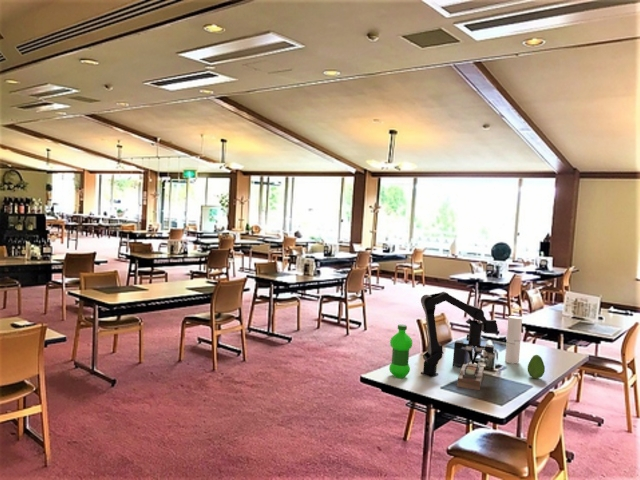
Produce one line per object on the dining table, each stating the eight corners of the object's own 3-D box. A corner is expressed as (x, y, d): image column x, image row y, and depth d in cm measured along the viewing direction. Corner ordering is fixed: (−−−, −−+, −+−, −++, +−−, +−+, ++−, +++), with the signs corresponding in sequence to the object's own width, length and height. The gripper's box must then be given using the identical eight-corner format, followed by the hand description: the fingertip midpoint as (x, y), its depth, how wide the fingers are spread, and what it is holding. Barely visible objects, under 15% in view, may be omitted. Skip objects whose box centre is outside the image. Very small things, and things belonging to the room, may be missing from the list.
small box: (463, 369, 270) (465, 349, 270) (452, 366, 274) (453, 346, 274) (471, 365, 279) (472, 345, 278) (459, 362, 283) (461, 343, 282)
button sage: (474, 375, 242) (474, 372, 242) (465, 374, 243) (465, 370, 243) (474, 373, 245) (475, 369, 245) (466, 372, 247) (466, 368, 247)
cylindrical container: (520, 364, 286) (524, 319, 284) (507, 363, 286) (511, 318, 284) (516, 360, 293) (519, 316, 291) (503, 359, 293) (506, 315, 292)
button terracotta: (475, 373, 249) (475, 369, 249) (466, 371, 251) (466, 368, 251) (475, 371, 253) (476, 367, 253) (467, 369, 254) (467, 366, 254)
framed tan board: (479, 390, 238) (480, 378, 238) (457, 386, 242) (457, 374, 241) (483, 374, 262) (484, 363, 262) (462, 371, 266) (463, 360, 266)
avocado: (533, 381, 256) (535, 357, 256) (523, 376, 264) (525, 352, 263) (547, 380, 258) (549, 356, 258) (537, 375, 266) (538, 352, 265)
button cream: (476, 368, 257) (476, 365, 257) (468, 367, 258) (468, 364, 258) (477, 366, 260) (477, 363, 260) (468, 365, 262) (469, 361, 262)
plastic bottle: (395, 371, 259) (398, 322, 258) (413, 376, 253) (417, 326, 251) (384, 375, 252) (387, 324, 250) (403, 381, 245) (406, 329, 244)
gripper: (495, 332, 262) (493, 362, 263) (457, 327, 269) (455, 356, 270) (494, 336, 252) (492, 368, 253) (455, 331, 259) (452, 362, 260)
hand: (472, 363), depth 259 cm, fingers closed, pressing on button cream
